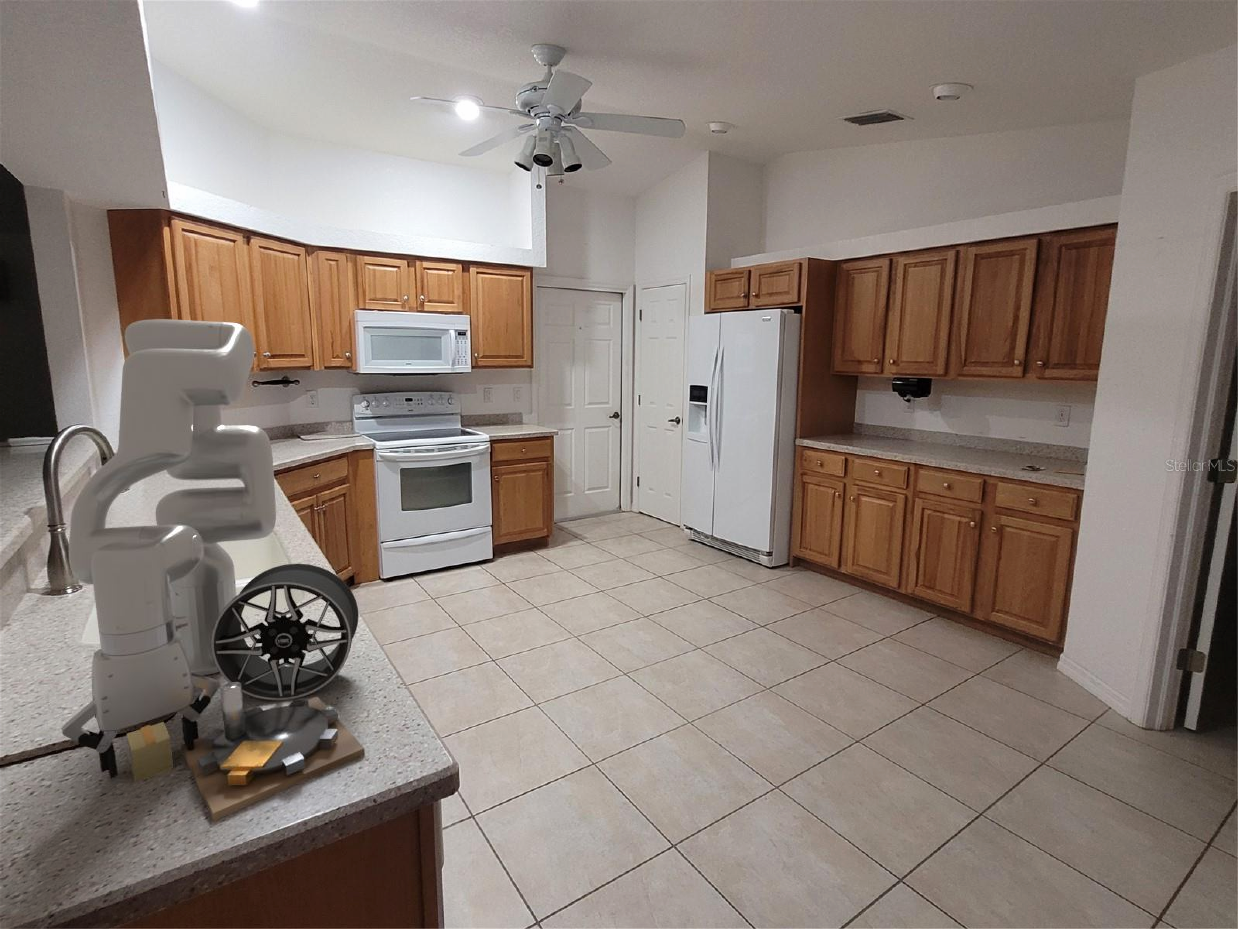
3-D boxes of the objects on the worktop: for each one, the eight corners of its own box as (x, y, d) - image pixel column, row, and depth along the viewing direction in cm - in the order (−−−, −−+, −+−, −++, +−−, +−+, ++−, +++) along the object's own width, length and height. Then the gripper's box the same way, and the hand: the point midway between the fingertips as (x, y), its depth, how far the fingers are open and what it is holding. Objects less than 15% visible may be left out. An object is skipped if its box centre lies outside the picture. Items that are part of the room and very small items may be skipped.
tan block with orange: (130, 764, 81) (126, 732, 81) (166, 751, 84) (163, 720, 83) (135, 782, 78) (131, 749, 77) (173, 769, 81) (169, 737, 80)
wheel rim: (216, 707, 95) (205, 586, 91) (235, 678, 103) (226, 566, 100) (353, 692, 100) (348, 577, 97) (361, 666, 109) (356, 559, 105)
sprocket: (167, 785, 75) (160, 723, 74) (244, 708, 92) (240, 656, 91) (306, 784, 76) (302, 723, 75) (357, 708, 93) (355, 657, 91)
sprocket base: (181, 750, 84) (180, 742, 84) (317, 702, 97) (317, 694, 97) (213, 821, 72) (212, 811, 72) (364, 754, 84) (364, 746, 84)
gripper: (210, 609, 87) (220, 721, 90) (44, 647, 74) (62, 775, 77) (224, 625, 82) (234, 744, 84) (48, 669, 69) (67, 806, 72)
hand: (152, 758), depth 81 cm, fingers open, 7 cm apart
